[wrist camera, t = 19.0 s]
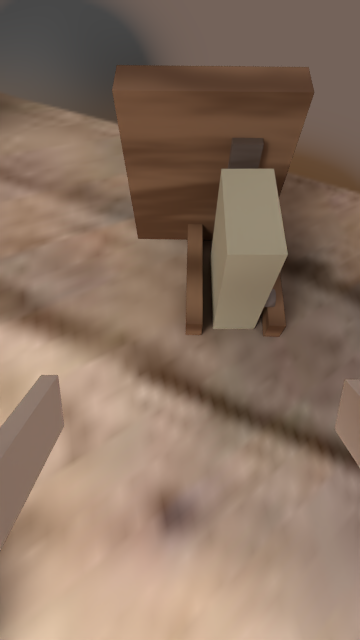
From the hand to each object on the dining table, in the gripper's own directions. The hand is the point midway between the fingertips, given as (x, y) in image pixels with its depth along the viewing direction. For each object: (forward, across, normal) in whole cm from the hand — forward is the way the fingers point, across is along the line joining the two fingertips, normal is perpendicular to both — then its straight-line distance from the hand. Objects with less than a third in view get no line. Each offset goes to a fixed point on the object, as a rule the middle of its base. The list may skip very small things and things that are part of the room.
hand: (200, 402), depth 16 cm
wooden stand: (+22, +1, +1) cm, 22 cm away
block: (+20, +4, 0) cm, 21 cm away
